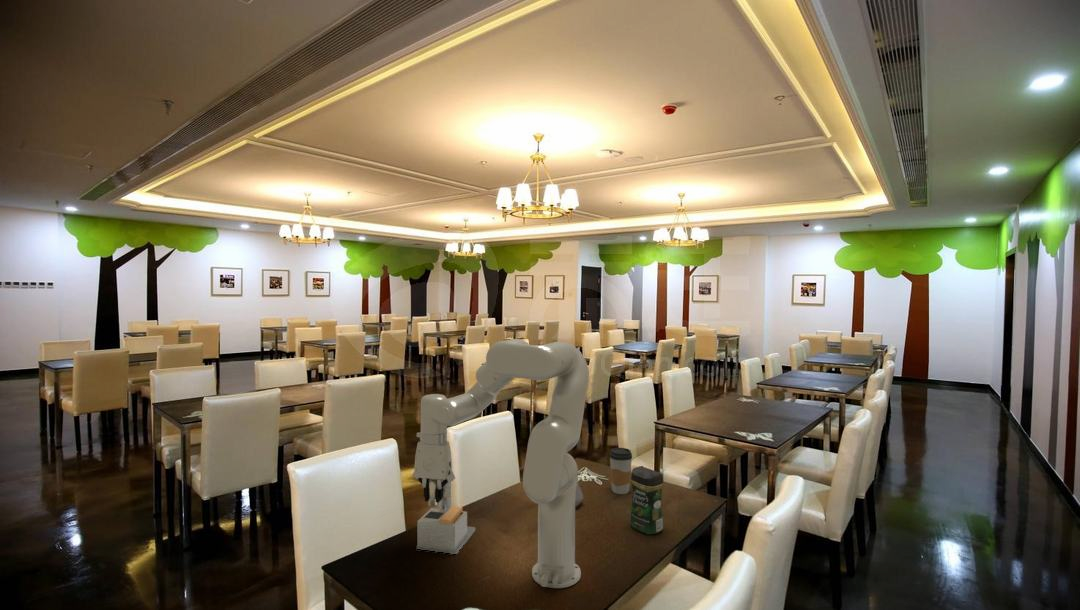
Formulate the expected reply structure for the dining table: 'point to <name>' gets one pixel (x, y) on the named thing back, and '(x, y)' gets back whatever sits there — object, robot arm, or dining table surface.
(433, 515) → the pole on box base
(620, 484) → the coffee cup
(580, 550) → the dining table surface
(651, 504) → the coffee jar
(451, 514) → the tan rectangular block
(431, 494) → the pale grey cylinder
